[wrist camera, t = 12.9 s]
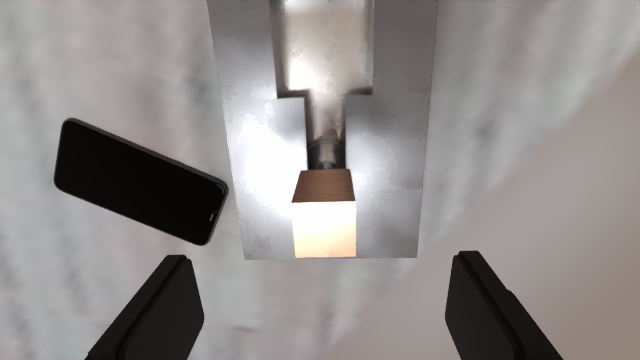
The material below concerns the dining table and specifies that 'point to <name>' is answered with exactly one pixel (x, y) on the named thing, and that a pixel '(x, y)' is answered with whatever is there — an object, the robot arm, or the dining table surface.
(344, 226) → the peg
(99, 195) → the smartphone
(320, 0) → the keyhole plate
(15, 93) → the dining table surface
